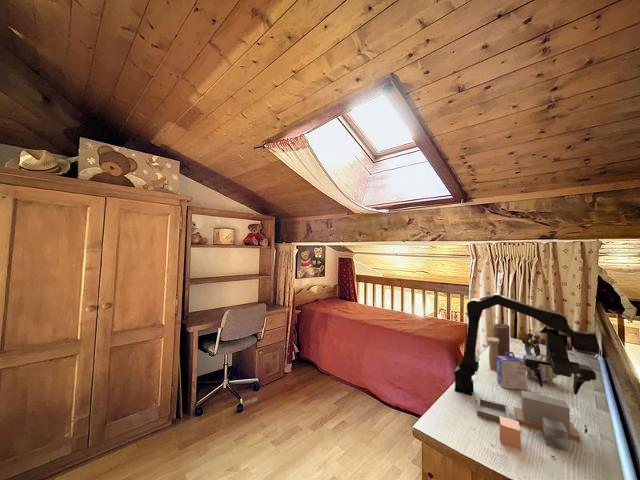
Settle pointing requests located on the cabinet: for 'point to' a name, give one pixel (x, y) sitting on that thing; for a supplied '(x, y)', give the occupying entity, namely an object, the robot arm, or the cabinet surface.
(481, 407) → the tray
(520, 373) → the ink cartridge box
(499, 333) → the candle
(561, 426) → the grey block
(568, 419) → the mounted unit
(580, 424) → the cabinet surface
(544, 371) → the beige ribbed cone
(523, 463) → the cabinet surface
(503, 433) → the terracotta block
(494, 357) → the handle
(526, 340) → the doll family
